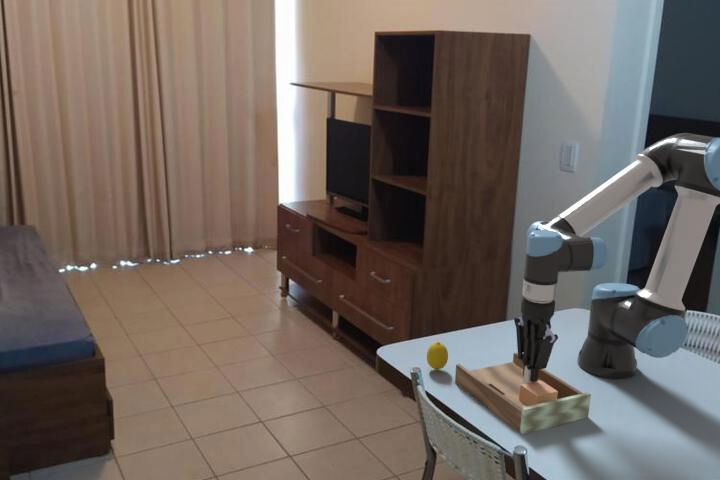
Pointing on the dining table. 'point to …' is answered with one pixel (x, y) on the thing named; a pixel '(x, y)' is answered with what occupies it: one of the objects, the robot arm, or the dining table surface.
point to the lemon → (437, 356)
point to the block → (536, 393)
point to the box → (503, 390)
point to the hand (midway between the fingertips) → (528, 391)
